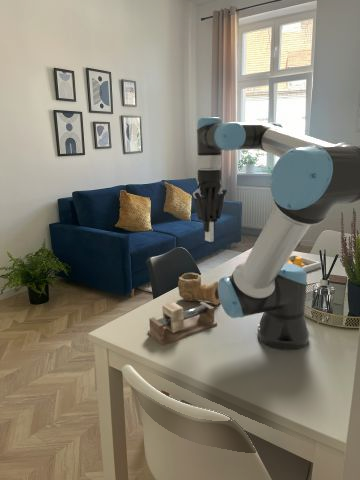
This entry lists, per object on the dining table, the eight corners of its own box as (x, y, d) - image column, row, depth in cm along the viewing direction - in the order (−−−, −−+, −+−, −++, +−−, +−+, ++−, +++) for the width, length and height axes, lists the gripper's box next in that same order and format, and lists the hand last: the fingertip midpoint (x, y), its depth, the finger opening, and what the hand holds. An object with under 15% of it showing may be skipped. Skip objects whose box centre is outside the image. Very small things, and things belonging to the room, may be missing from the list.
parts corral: (320, 267, 172) (321, 262, 171) (298, 274, 163) (299, 269, 163) (293, 259, 184) (293, 254, 184) (272, 265, 176) (272, 260, 175)
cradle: (200, 314, 127) (200, 300, 125) (217, 325, 120) (217, 309, 118) (147, 332, 116) (147, 316, 114) (162, 345, 108) (161, 328, 107)
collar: (173, 322, 119) (173, 301, 117) (183, 329, 114) (183, 308, 112) (163, 325, 116) (162, 304, 115) (172, 333, 112) (172, 311, 110)
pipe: (216, 309, 131) (216, 283, 128) (174, 304, 136) (174, 278, 134) (222, 299, 139) (223, 275, 136) (182, 294, 144) (182, 270, 142)
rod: (202, 310, 123) (202, 303, 122) (207, 313, 120) (207, 306, 120) (156, 326, 113) (156, 318, 112) (160, 329, 111) (160, 321, 110)
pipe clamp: (304, 270, 168) (305, 257, 167) (296, 272, 167) (297, 258, 165) (287, 263, 179) (288, 250, 177) (280, 264, 177) (280, 252, 176)
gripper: (217, 167, 122) (217, 235, 128) (185, 169, 115) (186, 241, 121) (232, 168, 116) (231, 239, 122) (200, 170, 109) (200, 246, 115)
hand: (209, 240), depth 121 cm, fingers closed
